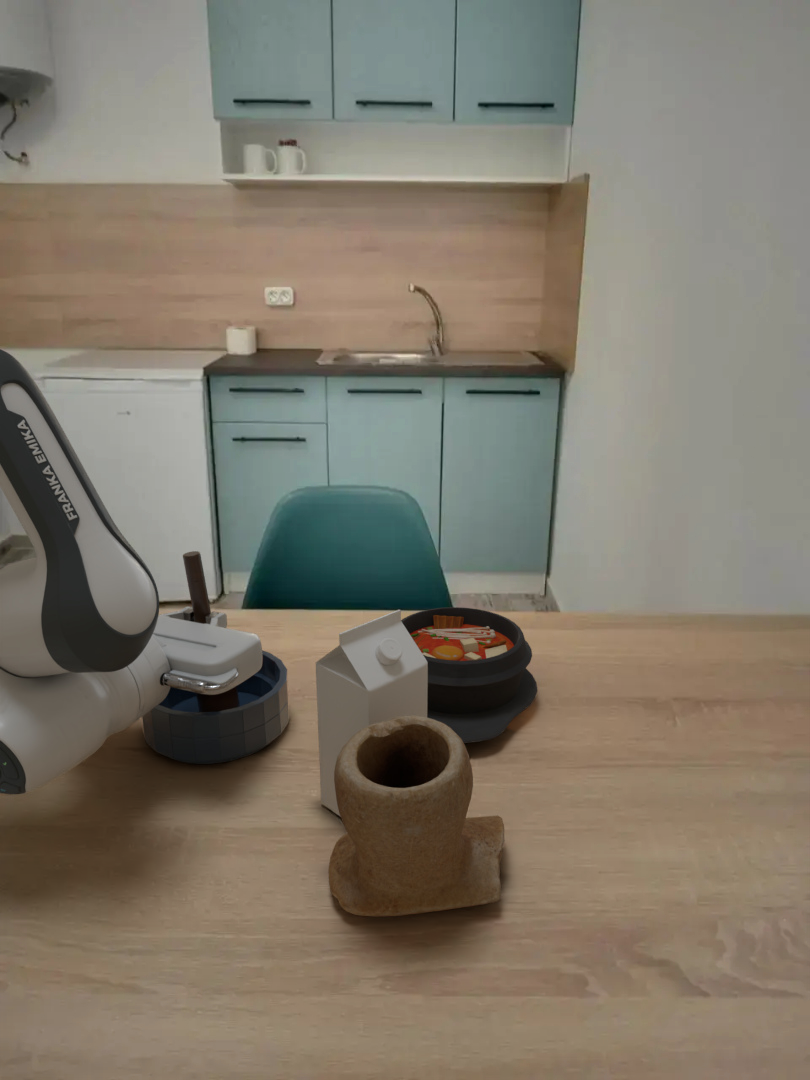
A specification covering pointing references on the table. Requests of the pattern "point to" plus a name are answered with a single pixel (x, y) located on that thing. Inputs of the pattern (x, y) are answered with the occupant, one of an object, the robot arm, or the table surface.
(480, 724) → the casserole
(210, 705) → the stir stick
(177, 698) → the bowl
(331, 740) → the milk carton
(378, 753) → the stone cup
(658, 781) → the table surface
